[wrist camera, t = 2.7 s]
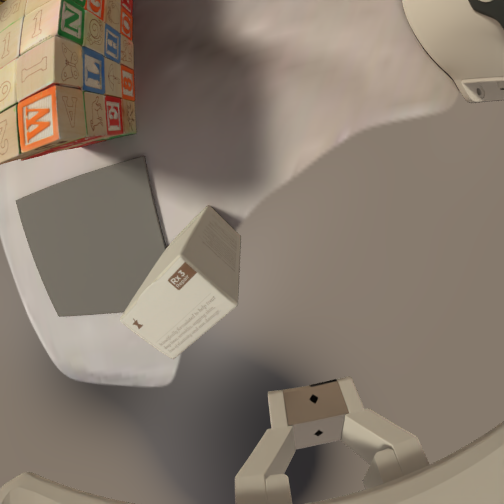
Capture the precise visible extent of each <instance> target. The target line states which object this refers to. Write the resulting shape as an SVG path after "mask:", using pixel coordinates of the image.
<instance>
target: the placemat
mask: <svg viewBox="0 0 504 504" xmlns="http://www.w3.org/2000/svg"><path fill="white" fill-rule="evenodd" d="M16 204H17V207H18V211H19V215H20V218H21V222H22V225H23V229H24V232H25V235H26V238H27V241H28V244H29V247H30V250H31V253H32V255H33V258H34V261H35V263H36V266H37V269H38V271H39V274H40V276H41V279H42V281H43V283H44V286H45V288H46V290H47V293H48V295H49V297H50V299H51V302H52V304H53V306H54V308H55V310H56V312H57V314H58V316H59V317H60V316H77V315H92V314H106V313H118V312H124V311H125V310H126V308H127V306H128V305H129V303H130V302H131V300H132V299H133V297H134V296H135V294H136V293H137V291H138V290H139V288H140V287H141V285H142V284H143V282H144V281H145V279H146V278H147V276H148V275H149V273H150V271H151V270H152V268H153V267H154V265H155V264H156V262H157V261H158V260H159V258H160V257H161V255H162V254H163V252H164V251H165V249H166V246H165V242H164V239H163V235H162V231H161V227H160V223H159V219H158V215H157V211H156V207H155V202H154V198H153V194H152V189H151V185H150V180H149V175H148V171H147V166H146V161H145V156H143V157H139V158H135V159H131V160H128V161H124V162H121V163H117V164H114V165H111V166H107V167H104V168H101V169H98V170H95V171H92V172H89V173H86V174H83V175H80V176H77V177H74V178H71V179H68V180H66V181H63V182H60V183H58V184H55V185H52V186H50V187H47V188H45V189H42V190H40V191H37V192H35V193H32V194H30V195H28V196H25V197H23V198H21V199H18V200H16Z"/></svg>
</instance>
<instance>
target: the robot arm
mask: <svg viewBox="0 0 504 504" xmlns="http://www.w3.org/2000/svg"><path fill="white" fill-rule="evenodd" d="M402 3H403V8H404V11H405V14H406V17H407V19H408V22H409V24H410V26H411V28H412V30H413V32H414V34H415V35H416V37H417V39H418V40H419V42H420V43H421V45H422V46H423V47H424V49H425V50H426V51H427V53H428V54H429V55H430V56H431V57H432V59H433V60H434V61H435V62H436V63H437V64H438V65H439V66H440V67H441V68H442V69H443V70H444V71H446V72H447V73H448V74H449V75H450V76H451V78H452V79H453V80H454V82H455V83H456V85H457V87H458V89H459V91H460V92H461V94H462V96H463V97H464V98H465V100H466V101H467V102H469V103H477V102H487V101H499V100H504V0H402ZM282 391H283V392H282ZM268 400H269V410H270V419H271V428H272V429H267V431H266V432H265V434H264V436H263V437H262V439H261V440H260V442H259V443H258V445H257V446H256V448H255V449H254V451H253V452H252V454H251V455H250V457H249V458H248V460H247V461H246V462H245V464H244V466H243V467H242V468H241V470H240V471H239V472H238V474H237V475H236V477H235V504H292V499H291V493H290V487H289V480H288V476H286V475H284V472H285V471H286V468H287V466H288V464H289V463H290V461H291V459H292V457H293V455H294V453H295V449H300V448H305V447H309V446H314V445H319V444H324V443H328V442H334V441H339V440H341V441H342V442H343V443H344V444H345V445H346V446H347V447H349V448H350V449H351V450H352V451H353V452H355V453H356V454H357V455H358V456H360V457H361V458H362V459H363V460H364V461H366V462H367V463H368V464H369V465H370V467H369V469H368V471H367V473H366V475H365V477H364V479H363V484H364V487H365V490H362V491H358V492H355V493H352V494H348V495H344V496H340V497H336V498H332V499H327V500H322V501H318V502H312V503H307V504H504V421H503V422H502V423H501V424H499V425H497V426H496V427H495V428H493V429H492V430H490V431H489V432H487V433H486V434H484V435H483V436H481V437H479V438H478V439H476V440H475V441H473V442H471V443H470V444H468V445H466V446H464V447H463V448H462V449H459V450H457V451H456V452H454V453H452V454H450V455H448V456H446V457H444V458H442V459H440V460H438V461H436V462H434V463H433V464H429V462H428V460H427V457H426V455H425V453H424V451H423V449H422V447H421V444H420V442H419V440H418V438H417V436H415V435H413V434H411V433H409V432H408V431H406V430H404V429H402V428H401V427H399V426H397V425H396V424H394V423H392V422H391V421H389V420H387V419H386V418H384V417H382V416H381V415H379V414H377V413H376V412H374V411H372V410H370V409H369V408H368V409H364V406H363V404H362V401H361V399H360V397H359V394H358V392H357V389H356V387H355V385H354V382H353V380H352V378H351V377H350V376H348V377H345V378H340V379H334V380H330V381H326V382H322V383H317V384H312V385H309V386H304V387H298V388H291V389H284V390H278V391H271V392H268ZM0 504H134V503H129V502H124V501H119V500H114V499H110V498H106V497H102V496H97V495H94V494H91V493H87V492H84V491H80V490H77V489H74V488H71V487H68V486H65V485H62V484H59V483H57V482H54V481H51V480H49V479H46V478H44V477H41V476H39V475H37V474H34V473H31V472H25V473H23V474H20V475H19V476H17V477H15V478H14V479H12V480H11V481H9V482H8V483H6V484H5V485H3V487H1V489H0Z"/></svg>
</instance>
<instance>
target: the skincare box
mask: <svg viewBox="0 0 504 504" xmlns="http://www.w3.org/2000/svg"><path fill="white" fill-rule="evenodd" d="M240 247H241V236H240V235H239V234H238V233H237V232H236V231H235V230H234V229H233V228H232V227H231V226H230V225H229V224H228V223H227V222H226V221H225V220H224V219H223V218H222V217H221V216H220V215H219V214H217V213H216V212H215V210H214V209H213V208H212V207H211V206H207V207H206V208H205V209H204V210H203V211H202V212H201V213H200V214H199V215H198V216H197V217H196V218H195V219H194V220H193V221H192V222H191V223H190V224H189V225H188V226H187V227H186V228H185V229H184V230H183V231H182V232H181V233H180V234H179V235H178V236H177V237H176V238H175V239H174V241H173V242H172V243H171V244H170V245H169V246H168V247H167V248H166V249H165V251H164V252H163V254H162V255H161V257H160V258H159V260H158V261H157V262H156V264H155V265H154V267H153V268H152V270H151V271H150V273H149V275H148V276H147V278H146V279H145V281H144V282H143V284H142V285H141V287H140V288H139V290H138V291H137V293H136V294H135V296H134V297H133V299H132V300H131V302H130V303H129V305H128V306H127V308H126V310H125V311H124V313H123V315H122V316H121V318H120V321H121V322H122V323H123V324H124V325H125V326H127V327H128V328H129V329H130V330H132V331H133V332H134V333H135V334H137V335H138V336H140V337H141V338H142V339H144V340H145V341H146V342H148V343H149V344H150V345H152V346H153V347H155V348H156V349H157V350H159V351H160V352H162V353H163V354H165V355H167V356H168V357H170V358H171V359H174V358H176V357H177V356H178V355H179V354H180V353H182V352H183V351H184V350H185V349H186V348H188V347H189V346H190V345H191V344H192V343H194V342H195V341H196V340H197V339H198V338H199V337H201V336H202V335H203V334H204V333H206V332H207V331H208V330H209V329H210V328H211V327H213V326H214V325H215V324H216V323H217V322H218V321H220V320H221V319H222V318H223V317H224V316H226V315H227V314H228V313H229V312H230V311H231V310H232V309H234V308H235V307H237V305H238V293H239V272H240V271H239V270H240Z"/></svg>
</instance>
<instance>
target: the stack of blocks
mask: <svg viewBox="0 0 504 504" xmlns="http://www.w3.org/2000/svg"><path fill="white" fill-rule="evenodd" d="M132 10H133V0H6V1H5V2H4V3H2V4H1V5H0V164H3V163H7V162H10V161H14V160H18V159H21V160H26V159H30V158H34V157H39V156H42V155H46V154H49V153H53V152H57V151H62V150H67V149H73V148H79V147H83V146H87V145H91V144H94V143H98V142H102V141H106V140H108V139H112V138H117V137H121V136H126V135H131V134H136V132H137V131H136V119H135V104H134V101H135V88H134V49H133V48H134V45H133V42H132V38H133V37H132V25H133V17H132Z"/></svg>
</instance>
